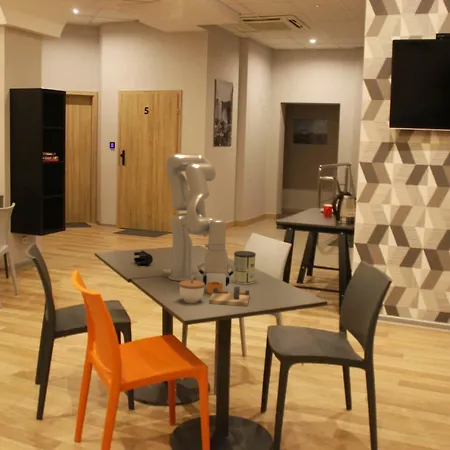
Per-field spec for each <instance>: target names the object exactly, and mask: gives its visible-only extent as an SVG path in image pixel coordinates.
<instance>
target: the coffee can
mask: <svg viewBox="0 0 450 450" xmlns="http://www.w3.org/2000/svg"><path fill="white" fill-rule="evenodd" d="M233 254H234V255H233V258H234V259H233V260H234V261H233V266H234V267H236V269H235V271H234V273H233V283H234V284H235V283H236V284H239V285H251V284H254V283H255V273H256V272H255V271H256V252H253V251H249V250H238V251H237V250H236V251H234V253H233Z"/></svg>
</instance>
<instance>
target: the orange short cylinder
mask: <svg viewBox="0 0 450 450" xmlns="http://www.w3.org/2000/svg"><path fill="white" fill-rule="evenodd" d="M223 287H224V285H223V282H220V281H208V282H207V293H208V294H211V295H212V294H213V289H214V288H218V289H217V291H223Z"/></svg>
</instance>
